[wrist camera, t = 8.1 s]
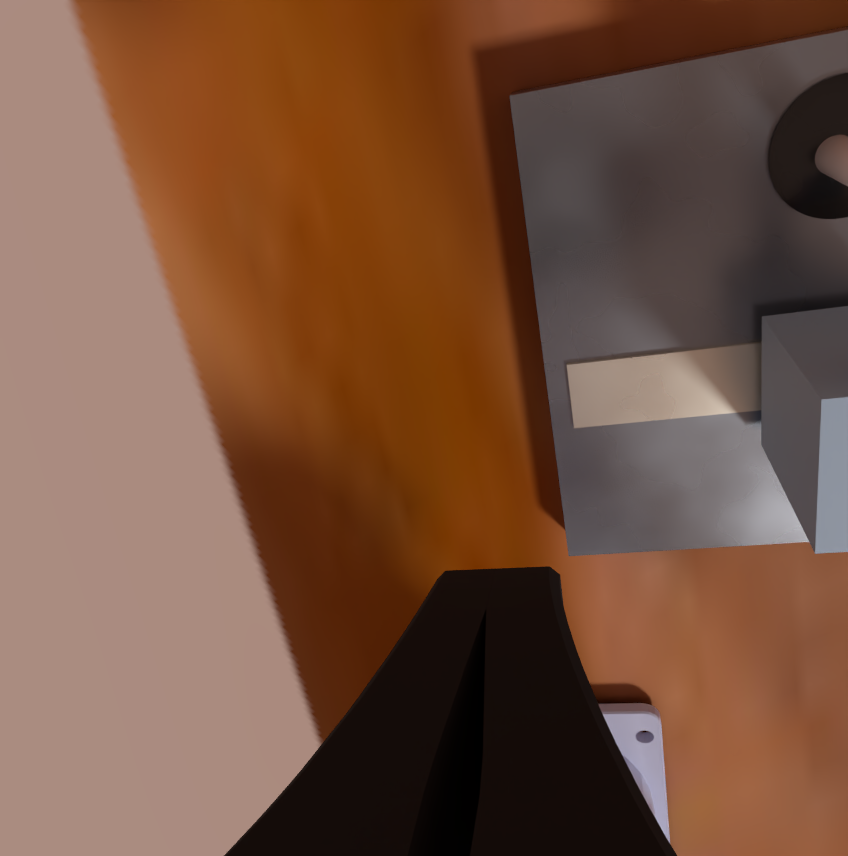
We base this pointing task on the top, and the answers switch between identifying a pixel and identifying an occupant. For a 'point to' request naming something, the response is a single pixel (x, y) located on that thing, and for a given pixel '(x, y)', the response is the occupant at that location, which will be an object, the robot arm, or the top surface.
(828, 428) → the sliding leg
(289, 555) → the top surface
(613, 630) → the top surface
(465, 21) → the top surface
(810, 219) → the bolt plate
